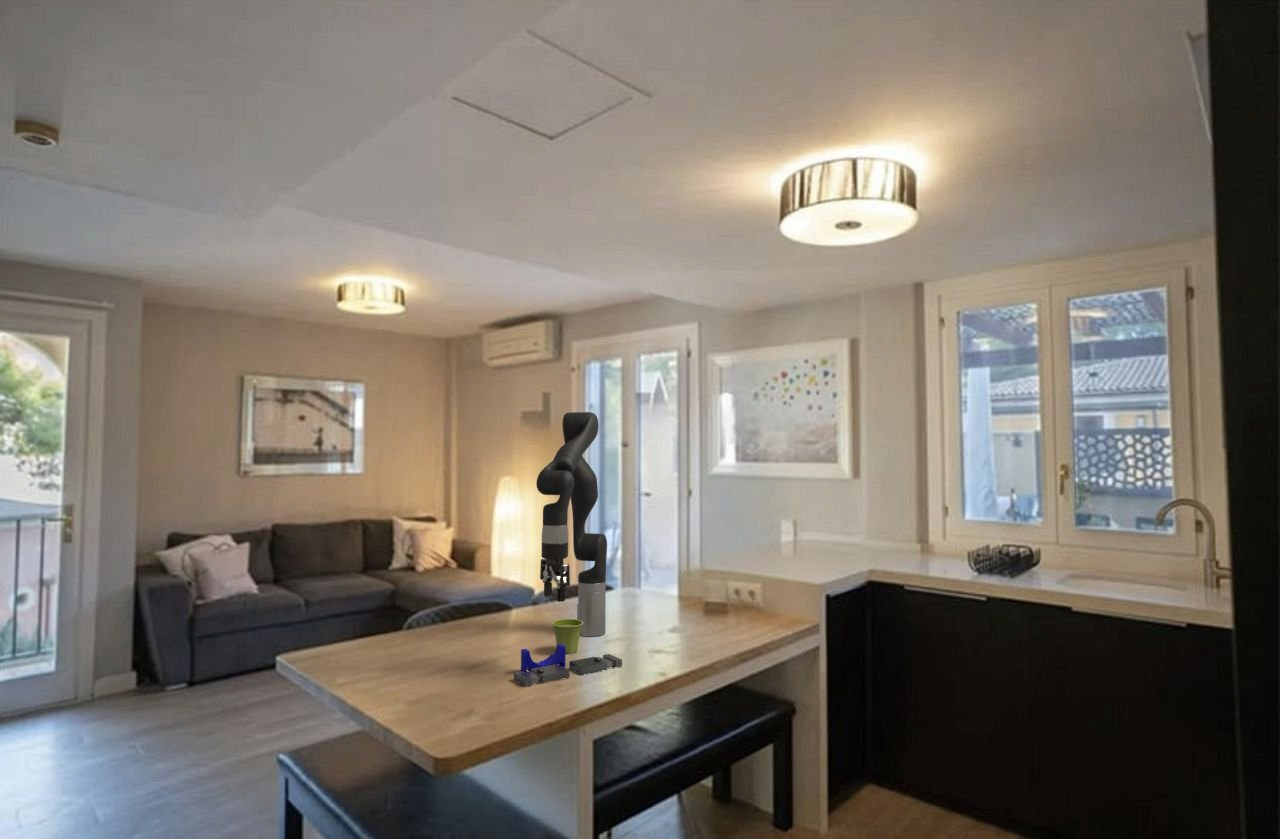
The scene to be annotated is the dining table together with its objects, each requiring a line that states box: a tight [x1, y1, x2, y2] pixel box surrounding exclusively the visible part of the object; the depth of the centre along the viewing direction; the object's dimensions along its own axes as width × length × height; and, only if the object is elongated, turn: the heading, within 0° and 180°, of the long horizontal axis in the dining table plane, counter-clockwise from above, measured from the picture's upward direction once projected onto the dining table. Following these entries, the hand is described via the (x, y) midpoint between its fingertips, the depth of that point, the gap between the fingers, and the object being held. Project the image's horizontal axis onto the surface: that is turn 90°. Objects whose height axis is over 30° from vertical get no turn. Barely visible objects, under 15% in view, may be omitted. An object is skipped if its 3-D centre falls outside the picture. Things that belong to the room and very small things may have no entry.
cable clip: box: [520, 643, 566, 673], centre depth 195 cm, size 12×4×6 cm, turn 118°
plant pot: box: [552, 618, 583, 655], centre depth 212 cm, size 9×9×9 cm
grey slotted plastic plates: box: [513, 653, 623, 688], centre depth 191 cm, size 7×30×3 cm, turn 125°
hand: (554, 598), depth 196 cm, fingers open, 8 cm apart
